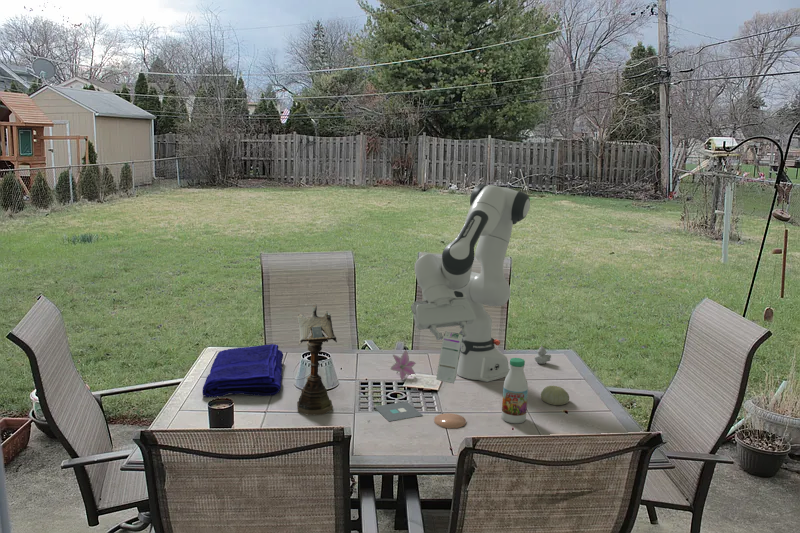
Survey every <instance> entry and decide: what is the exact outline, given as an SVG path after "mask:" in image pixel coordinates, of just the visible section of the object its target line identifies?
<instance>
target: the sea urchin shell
mask: <svg viewBox="0 0 800 533" xmlns="http://www.w3.org/2000/svg"><path fill="white" fill-rule="evenodd" d="M540 398H541V400H542V401H543V402H545V403H546V404H549V405H553V406H562V405H567V403H568V402H569V401H570V396H569V392H567V391H566V390H565V389H564V388H563V387H561V386H557V385H548V386H546V387H545V388H543V389H542V391H541V393H540Z"/></svg>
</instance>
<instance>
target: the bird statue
mask: <svg viewBox="0 0 800 533" xmlns="http://www.w3.org/2000/svg"><path fill="white" fill-rule="evenodd" d="M317 309H318V307H317V304H316V303H315V304H313V306H312V307H311V315H310V317H307V316H305V315H304V314H303V313H300V314H298V315H297V316H296V320H297V324H298V331H299V338H298V341H299V342H298V346H300V345H301V344H302V343H305V342H306V345H307V351H308V352H309V353H310V363H309V365H310V375H309V376H307V378H306V382H305V385H304V386H303V388H302V389H301V394H300V396H299V397H298V401H297V404H296V405H297V408H296V409H297V412H298V413H301V414H304V415H307V416H317V415H318V416H319V415H321V416H322V415H325V414H327V413H329V412H332V411H333V403H332V401H333V400H332V399H330V397H329V395H328V391H327V388H326V385H324V383H323V381H322V378H323V377H322V376H321V375H320V374H318V372H319V365H320V362H319V354H320V352H321V351H322V349H323V347H322V346H323V343H328V342H329V341H330V340H333V341H334V342H335V343H338V341H337V336H335V333H334V328H333V324H332V322H333V321H332V317H331V313H330V312H328V310H326V312H324V313H323V315H322V316H318V314H317ZM310 333H311V334H310ZM309 335H310V336H309ZM325 335H326V336H325Z"/></svg>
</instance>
